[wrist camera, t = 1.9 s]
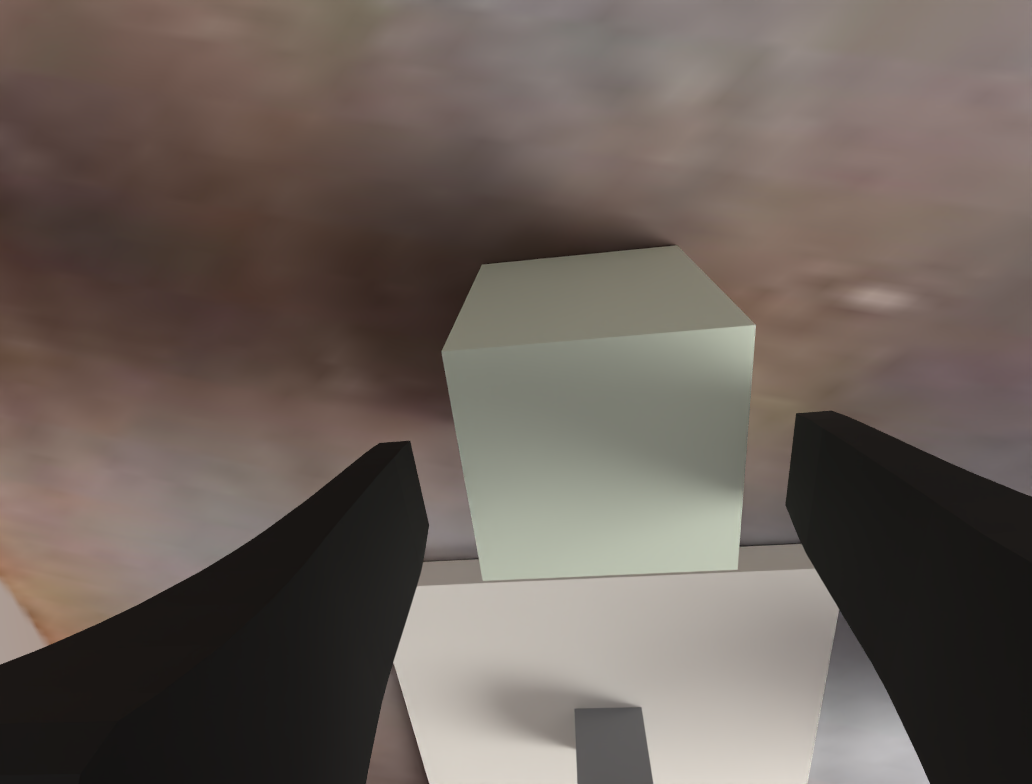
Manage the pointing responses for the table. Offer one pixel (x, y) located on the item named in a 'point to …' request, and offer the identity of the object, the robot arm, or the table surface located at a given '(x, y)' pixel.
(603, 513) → the pale green block
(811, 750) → the post board
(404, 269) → the table surface
